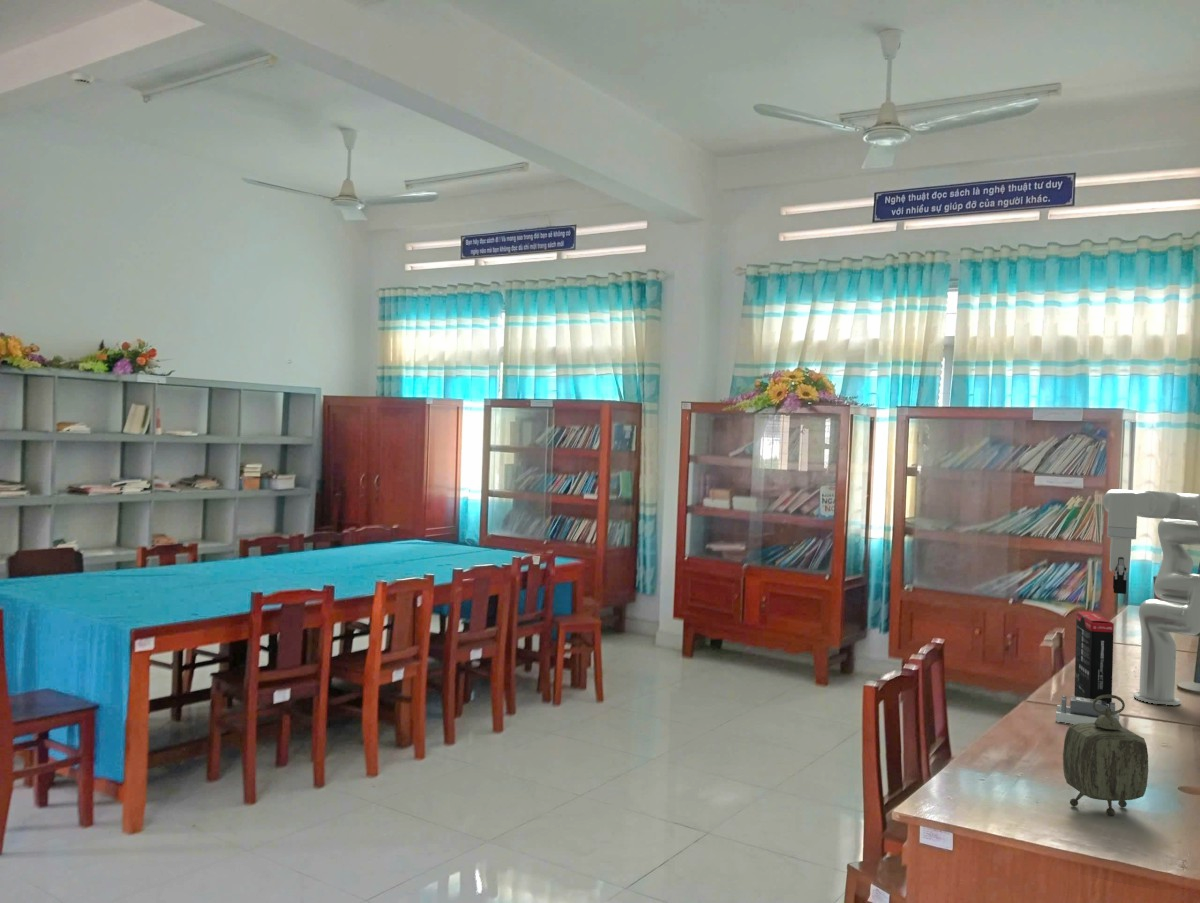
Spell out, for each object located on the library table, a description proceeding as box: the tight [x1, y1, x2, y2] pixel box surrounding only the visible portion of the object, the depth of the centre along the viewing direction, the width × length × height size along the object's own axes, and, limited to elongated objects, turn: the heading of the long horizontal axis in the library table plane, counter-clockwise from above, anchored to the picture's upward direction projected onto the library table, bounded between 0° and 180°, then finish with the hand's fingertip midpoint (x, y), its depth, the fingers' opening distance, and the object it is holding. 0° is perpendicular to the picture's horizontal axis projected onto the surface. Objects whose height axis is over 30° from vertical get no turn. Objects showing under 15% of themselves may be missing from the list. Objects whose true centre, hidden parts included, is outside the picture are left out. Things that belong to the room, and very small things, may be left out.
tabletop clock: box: [1062, 694, 1149, 817], centre depth 205 cm, size 14×9×25 cm, turn 92°
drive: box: [1069, 696, 1107, 718], centre depth 275 cm, size 6×9×5 cm, turn 61°
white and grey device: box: [1055, 695, 1121, 725], centre depth 275 cm, size 11×16×6 cm
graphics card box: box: [1073, 610, 1115, 708], centre depth 294 cm, size 17×7×27 cm, turn 168°
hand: (1119, 591), depth 284 cm, fingers open, 9 cm apart
